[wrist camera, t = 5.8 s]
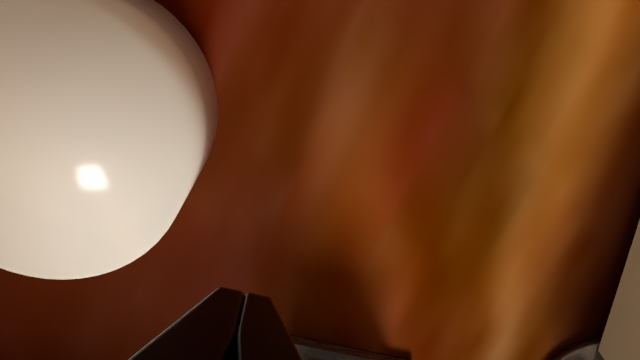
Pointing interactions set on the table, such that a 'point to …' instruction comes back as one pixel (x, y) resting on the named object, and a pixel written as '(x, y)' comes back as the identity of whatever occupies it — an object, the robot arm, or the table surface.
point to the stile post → (333, 351)
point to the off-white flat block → (625, 312)
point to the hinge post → (581, 351)
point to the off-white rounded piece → (96, 132)
